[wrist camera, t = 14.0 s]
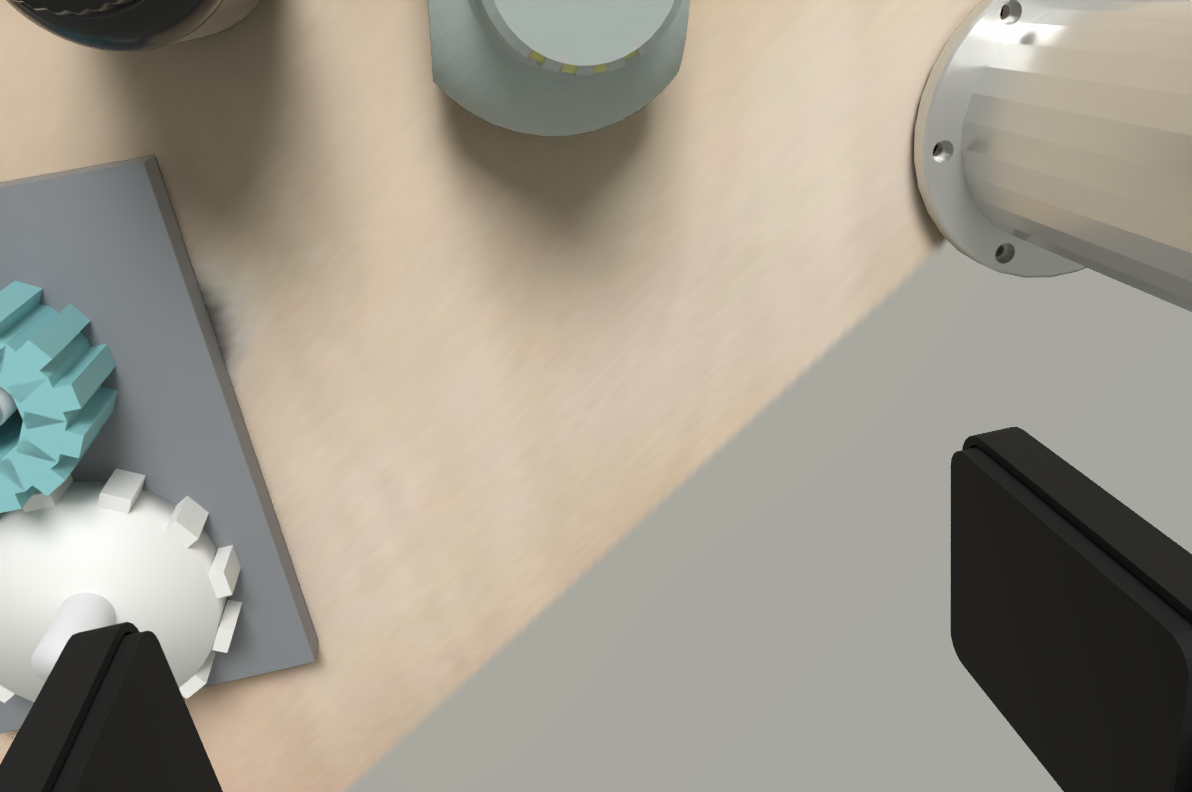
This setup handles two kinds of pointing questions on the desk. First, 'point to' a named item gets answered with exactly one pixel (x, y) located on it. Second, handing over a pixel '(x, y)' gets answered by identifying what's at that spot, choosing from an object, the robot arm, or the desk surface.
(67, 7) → the supplement bottle
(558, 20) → the air freshener
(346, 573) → the desk surface
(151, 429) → the gear board
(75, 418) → the gear
